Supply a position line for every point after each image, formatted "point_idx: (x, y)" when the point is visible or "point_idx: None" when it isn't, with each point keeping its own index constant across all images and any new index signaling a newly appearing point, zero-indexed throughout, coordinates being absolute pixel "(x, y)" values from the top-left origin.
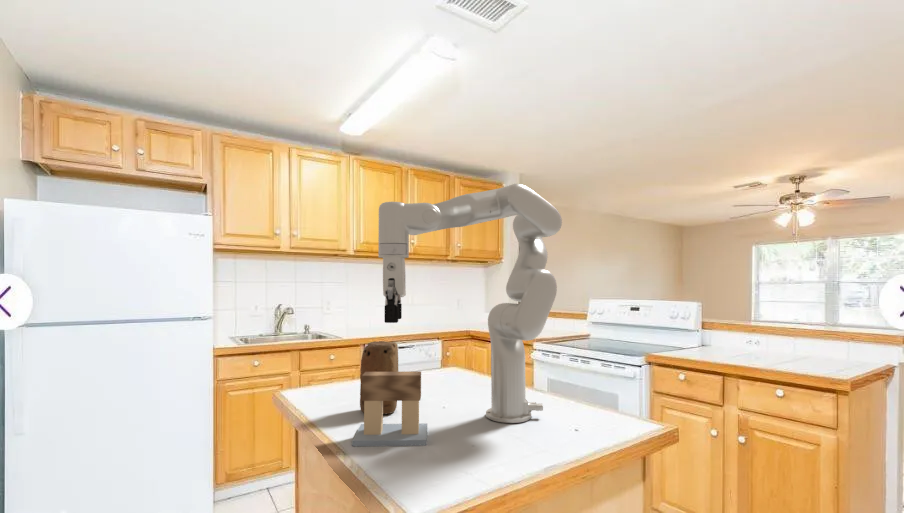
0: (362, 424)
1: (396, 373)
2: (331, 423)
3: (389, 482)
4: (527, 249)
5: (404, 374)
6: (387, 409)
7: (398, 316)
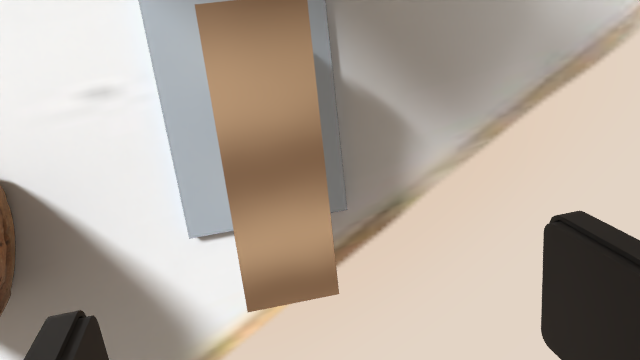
0: (193, 232)
1: (271, 142)
2: (150, 342)
3: (560, 38)
4: None
5: (294, 91)
6: (2, 197)
7: (95, 356)
